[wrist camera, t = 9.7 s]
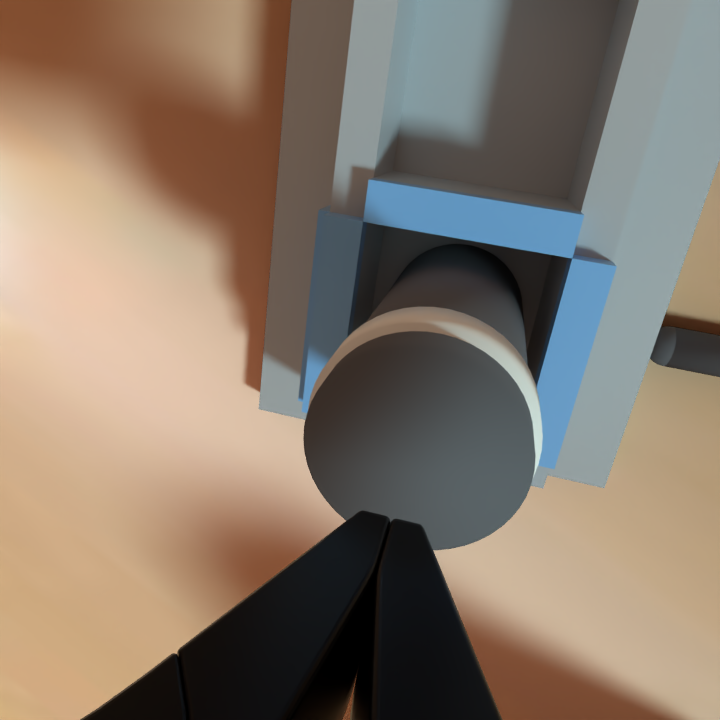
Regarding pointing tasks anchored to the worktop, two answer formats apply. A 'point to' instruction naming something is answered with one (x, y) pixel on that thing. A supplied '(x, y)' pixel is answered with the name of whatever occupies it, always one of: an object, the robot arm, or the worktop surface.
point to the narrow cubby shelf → (496, 184)
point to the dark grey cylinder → (431, 403)
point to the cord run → (687, 350)
